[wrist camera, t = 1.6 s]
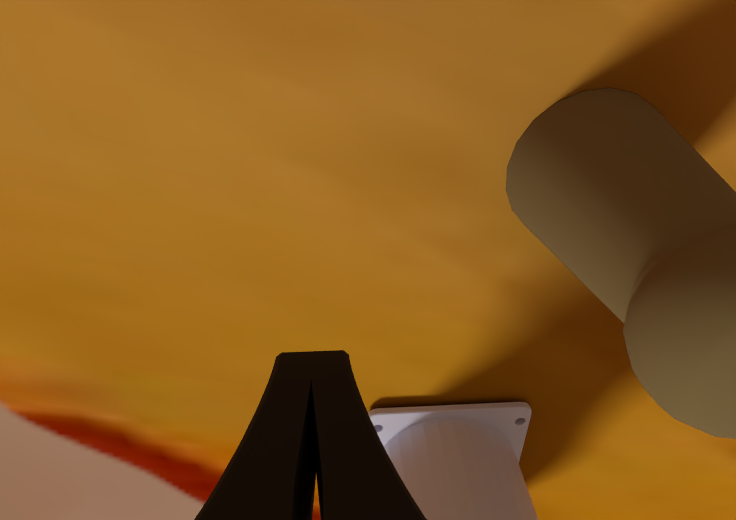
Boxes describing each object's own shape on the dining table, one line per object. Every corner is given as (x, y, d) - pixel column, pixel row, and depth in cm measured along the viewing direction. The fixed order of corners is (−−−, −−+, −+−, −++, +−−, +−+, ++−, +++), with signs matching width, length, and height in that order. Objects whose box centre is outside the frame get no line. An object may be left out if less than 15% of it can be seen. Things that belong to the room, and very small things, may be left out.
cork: (693, 92, 19) (1032, 267, 10) (636, 241, 23) (854, 476, 13) (525, 83, 19) (724, 262, 10) (491, 238, 22) (615, 482, 13)
